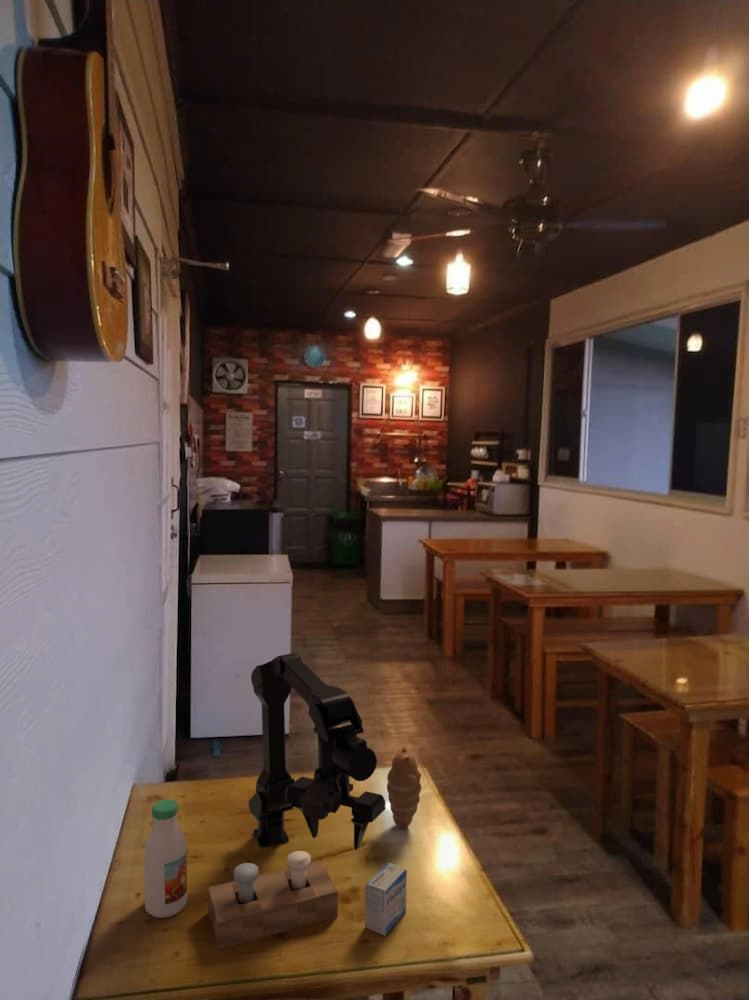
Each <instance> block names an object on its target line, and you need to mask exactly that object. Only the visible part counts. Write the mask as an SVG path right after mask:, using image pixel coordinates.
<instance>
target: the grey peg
mask: <svg viewBox="0 0 749 1000" xmlns="http://www.w3.org/2000/svg"><path fill="white" fill-rule="evenodd" d="M258 875H259V866H258V865H256V864H255V863H251V862H245V863H241V864H238V865H237V866H236V867H235V868H234V870H233V879H234V881H236V882H238V900H239V902H240V903H242V904H244V903H248V902H252V901H253V900H254V881H255V880H256V879H257V878H258Z"/></svg>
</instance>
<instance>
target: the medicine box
mask: <svg viewBox="0 0 749 1000" xmlns="http://www.w3.org/2000/svg"><path fill="white" fill-rule="evenodd" d="M407 871H408V870H407V869H405V868H404V867H401V866H399V865H397V864H394V863H391V862H386V863H385V865H383V867H382V868H380V870H378V871H377V873H375V875H374V876H372V878H370V880H369V881H368V882H367V883H365V888H364V891H365V892H364V896H365V897H364V927H365V928H366V929H368V930H371V932H374V933H377V934H380V935H382V936H384V937H386V935H388V933H389V932H390V931H391V930H392V929H393V927H394V926H395V925H396V923H397V922H398V921H400V919H401V918H402V917H403V915H404V914H405V913H406V912H407V881H408V880H407V878H408V877H407V876H408V873H407Z"/></svg>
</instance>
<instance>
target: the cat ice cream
mask: <svg viewBox="0 0 749 1000" xmlns="http://www.w3.org/2000/svg"><path fill="white" fill-rule="evenodd" d="M416 761H417V760H416V759H415V757H414V756H412V755H411V754H409V753H408V751H407V748H406V746H403V747H402V750H401V752H400V753H398V754H396V755H395V756H394V758H393V759H392V761H391V768H390V770H389V771H388V773H387V777H386V778H387V780H386V781H387V784H386V789H387V791H386V792H388V796H387V797H388V802H389V804H390V811H391V813H392V820H393V823H394V825H396V826H397V827H398V828H400V829H407V828H408V827H409V826H410V825H411V824H412V823H413V819H414V818H413V817H414V816H415V815H416V813H417V811H418V805H419V803H420V794H421V792H422V785H421V784H422V783H421V779H422V778H421V777H422V774H421V772H420V771H419V767H418V765H417V762H416Z"/></svg>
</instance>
